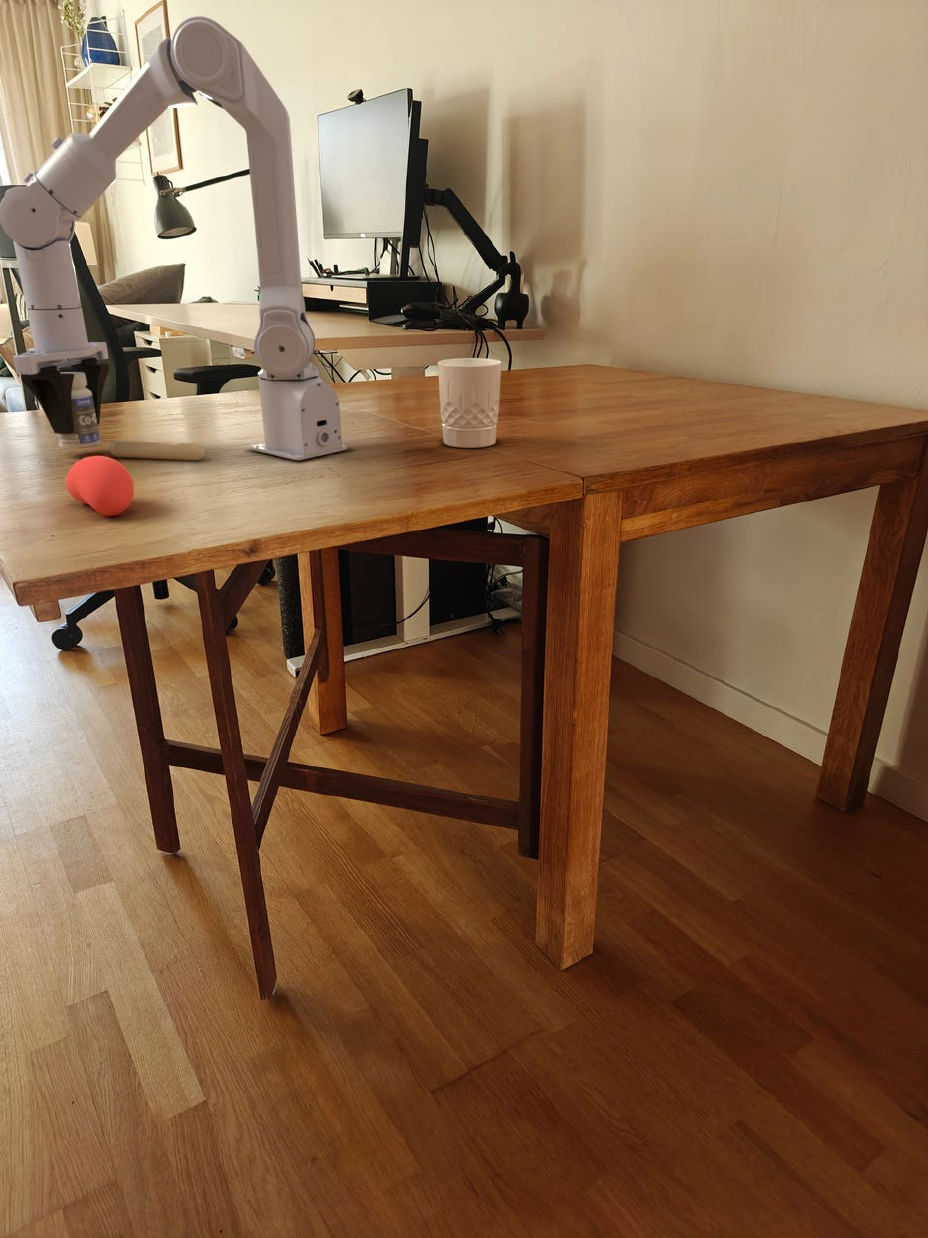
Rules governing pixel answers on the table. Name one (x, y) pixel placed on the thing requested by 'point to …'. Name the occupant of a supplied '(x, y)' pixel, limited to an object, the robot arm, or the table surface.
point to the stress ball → (101, 484)
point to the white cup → (469, 401)
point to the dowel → (157, 450)
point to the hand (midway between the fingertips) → (77, 428)
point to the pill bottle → (81, 417)
